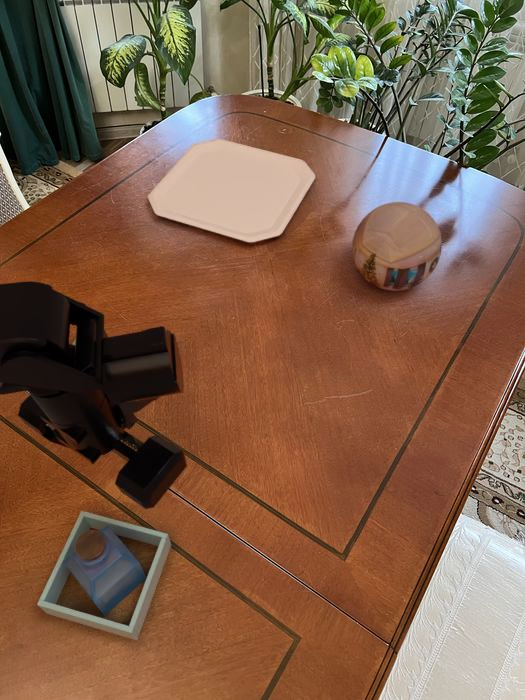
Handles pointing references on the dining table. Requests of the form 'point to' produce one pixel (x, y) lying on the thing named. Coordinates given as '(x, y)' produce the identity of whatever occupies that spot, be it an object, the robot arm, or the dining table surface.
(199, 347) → the dining table surface
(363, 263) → the ornament
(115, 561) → the perfume bottle
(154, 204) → the plate
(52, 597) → the square frame
